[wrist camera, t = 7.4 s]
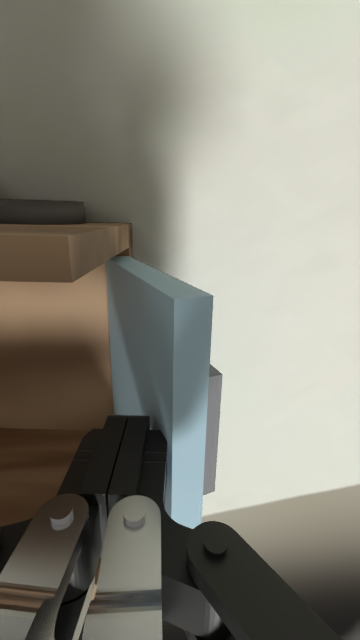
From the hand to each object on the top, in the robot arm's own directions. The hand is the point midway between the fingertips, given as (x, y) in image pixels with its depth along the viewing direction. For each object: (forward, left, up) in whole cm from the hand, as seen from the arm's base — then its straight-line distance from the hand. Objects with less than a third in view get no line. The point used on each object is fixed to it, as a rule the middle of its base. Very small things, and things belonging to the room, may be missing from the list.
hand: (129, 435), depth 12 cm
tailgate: (0, -1, -7) cm, 7 cm away
